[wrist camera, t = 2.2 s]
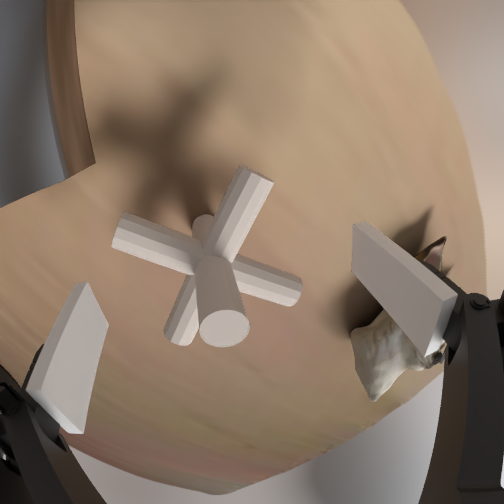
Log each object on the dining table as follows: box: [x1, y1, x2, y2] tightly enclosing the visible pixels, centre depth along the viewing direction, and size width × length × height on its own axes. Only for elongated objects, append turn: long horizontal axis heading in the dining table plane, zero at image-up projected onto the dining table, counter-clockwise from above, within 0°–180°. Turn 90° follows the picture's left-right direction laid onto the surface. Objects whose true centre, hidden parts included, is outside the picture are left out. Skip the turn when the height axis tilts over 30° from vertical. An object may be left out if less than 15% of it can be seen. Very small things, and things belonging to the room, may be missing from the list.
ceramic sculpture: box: [350, 236, 460, 402], centre depth 23 cm, size 11×9×15 cm
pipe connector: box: [112, 165, 303, 347], centre depth 14 cm, size 10×10×10 cm
